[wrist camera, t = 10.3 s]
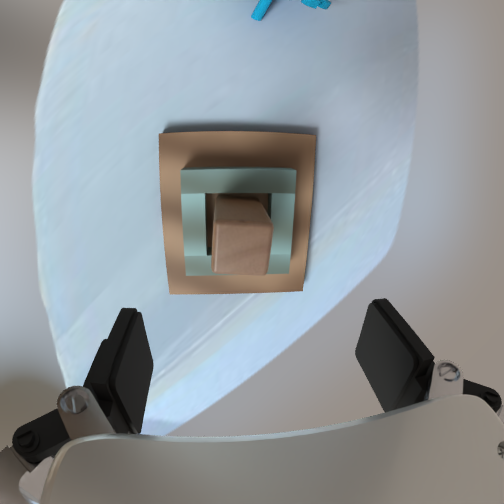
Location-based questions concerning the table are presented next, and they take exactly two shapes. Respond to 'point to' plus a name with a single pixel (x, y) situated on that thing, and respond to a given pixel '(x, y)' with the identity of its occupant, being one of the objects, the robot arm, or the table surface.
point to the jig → (242, 185)
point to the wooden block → (241, 236)
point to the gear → (262, 6)
